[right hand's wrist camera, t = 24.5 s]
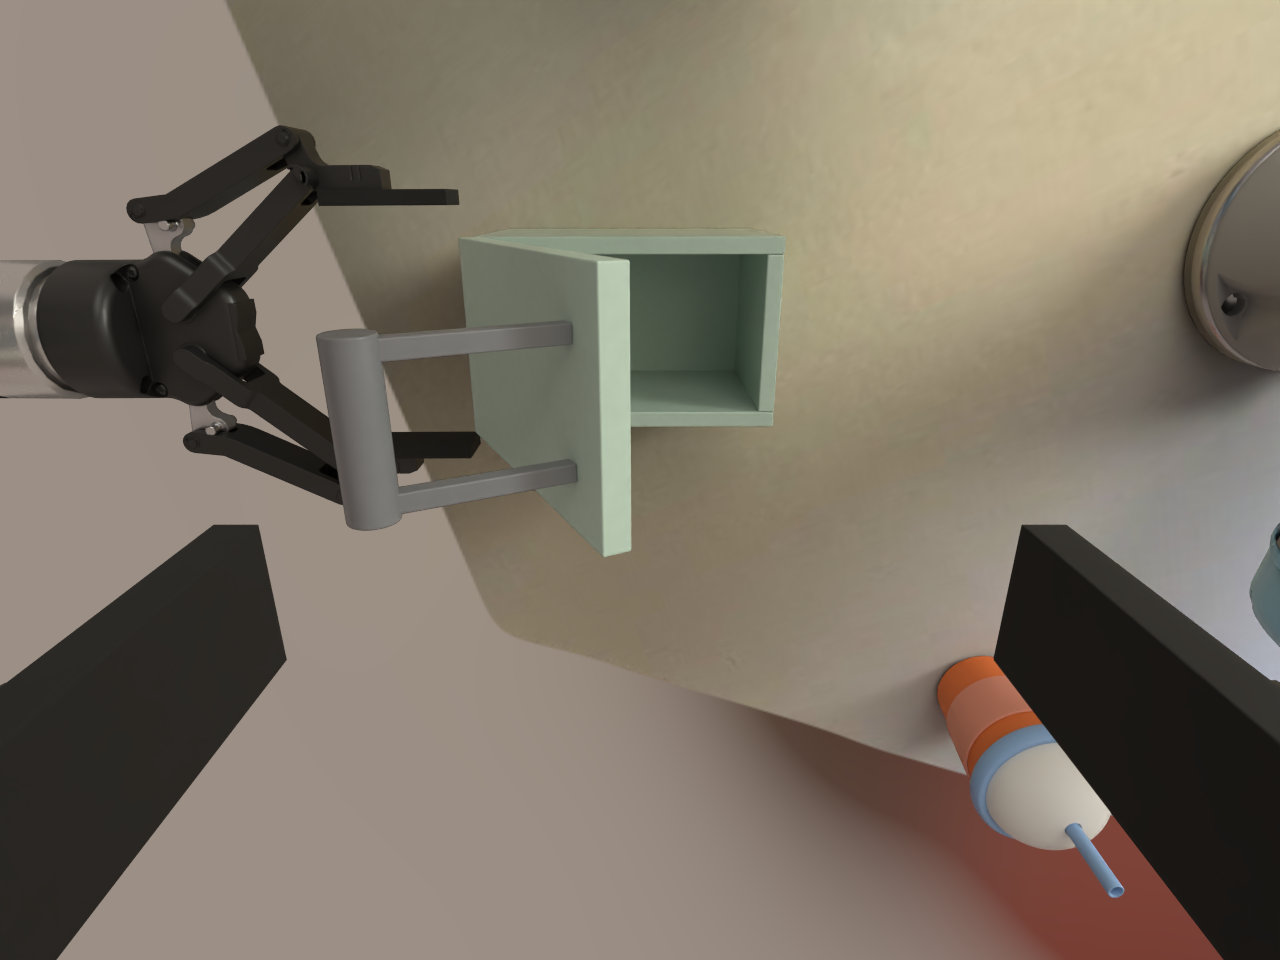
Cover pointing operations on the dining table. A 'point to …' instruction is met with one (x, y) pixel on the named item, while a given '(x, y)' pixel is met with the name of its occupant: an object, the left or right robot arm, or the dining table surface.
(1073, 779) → the cup with straw
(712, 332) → the chest
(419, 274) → the dining table surface
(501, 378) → the lid
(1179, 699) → the right robot arm
